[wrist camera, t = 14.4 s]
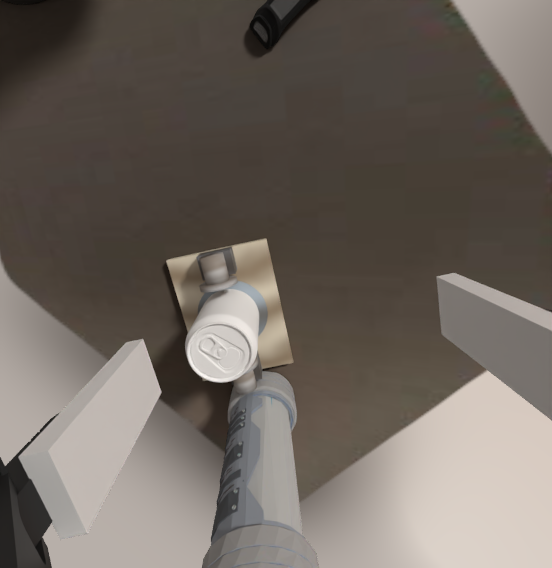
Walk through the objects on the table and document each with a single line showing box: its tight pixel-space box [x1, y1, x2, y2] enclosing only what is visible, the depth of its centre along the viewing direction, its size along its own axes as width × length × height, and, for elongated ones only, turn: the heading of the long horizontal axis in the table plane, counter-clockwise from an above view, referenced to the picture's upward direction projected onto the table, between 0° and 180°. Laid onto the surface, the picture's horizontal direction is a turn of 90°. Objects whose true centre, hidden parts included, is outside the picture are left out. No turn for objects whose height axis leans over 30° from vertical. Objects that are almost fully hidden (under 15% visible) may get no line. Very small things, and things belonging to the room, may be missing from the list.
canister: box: [202, 371, 319, 568], centre depth 38 cm, size 10×10×30 cm
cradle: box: [166, 238, 293, 395], centre depth 45 cm, size 19×14×8 cm
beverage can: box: [185, 289, 259, 383], centre depth 41 cm, size 8×8×12 cm
